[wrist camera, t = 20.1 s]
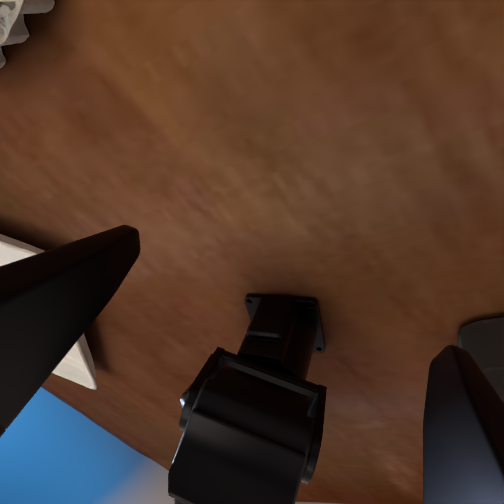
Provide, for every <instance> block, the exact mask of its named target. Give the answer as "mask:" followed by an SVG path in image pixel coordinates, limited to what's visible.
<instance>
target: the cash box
mask: <svg viewBox="0 0 504 504" xmlns="http://www.w3.org/2000/svg"><path fill="white" fill-rule="evenodd" d="M458 347H460V348H463V349H465V350H467V351H468V352H469V353H470V355H471V356H472V357H473V359H474V360H475V362H476V363H477V365H478V366H479V368H480V369H481V371H482V372H483V374H484V375H485V377H486V378H487V379H488V381H489V382H490V384H491V385H492V387H493V388H494V390H495V391H496V393H497V394H498V396H499V397H500V399H501V400H502V401H503V403H504V317H501V318H494V319H487V320H481V321H476V322H473V323H471V324H469V325H467V326H464V327H462V328H461V329H460V334H459V339H458Z"/></svg>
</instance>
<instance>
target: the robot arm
mask: <svg viewBox="0 0 504 504" xmlns="http://www.w3.org/2000/svg"><path fill="white" fill-rule="evenodd" d="M139 254H140V239H139V231H138V230H137V229H136V228H133V227H130V226H128V225H122V226H119V227H116V228H113V229H110V230H107V231H104V232H101V233H98V234H95V235H92V236H89V237H86V238H83V239H80V240H77V241H74V242H71V243H68V244H65V245H62V246H59V247H56V248H53V249H50V250H47V251H44V252H41V253H38V254H35V255H32V256H29V257H26V258H24V259H21V260H18V261H15V262H12V263H9V264H6V265H3V266H0V437H1V436H2V434H3V433H4V432H5V429H7V428H8V427H9V425H10V424H11V423H12V422H13V420H14V419H15V418H16V417H17V415H18V414H19V413H20V412H21V410H22V409H23V408H24V406H25V405H26V404H27V403H28V402H29V400H30V399H31V398H32V397H33V396H34V394H35V393H36V392H37V390H38V389H39V388H40V387H41V386H42V384H43V383H44V382H45V381H46V379H47V378H48V377H49V376H50V374H51V373H52V372H53V371H54V369H55V368H56V367H57V366H58V364H59V363H60V362H61V361H62V359H63V358H64V357H65V356H66V354H67V353H68V352H69V351H70V350H71V348H72V347H73V346H74V345H75V343H76V342H77V341H78V340H79V338H80V337H81V336H82V335H83V333H84V332H85V331H86V330H87V328H88V327H89V326H90V325H91V323H92V322H93V321H94V320H95V318H96V317H97V316H98V315H99V313H100V312H101V311H102V310H103V308H104V307H105V306H106V305H107V303H108V302H109V301H110V300H111V298H112V297H113V296H114V294H115V293H116V291H117V290H118V288H119V286H120V285H121V283H122V282H123V280H124V279H125V277H126V275H127V274H128V272H129V271H130V269H131V267H132V266H133V264H134V263H135V261H136V260H137V258H138V256H139ZM250 299H251V300H250ZM244 300H245V304H246V307H247V310H248V313H249V316H250V319H251V322H250V325H249V327H248V329H247V333H246V335H245V337H244V340H243V342H242V344H241V347H240V349H239V351H238V355H236V354H233V353H230V352H228V351H225V349H223V348H220V347H217V349H216V351H215V352H214V354H211V356H210V357H209V358H208V360H207V362H206V363H205V365H204V366H203V368H202V370H201V371H200V373H199V374H198V376H197V377H196V379H195V380H194V382H193V383H192V384H191V385H190V386H189V388H188V389H187V390H186V391H185V392H184V393H183V395H182V397H181V400H180V402H181V405H182V413H181V418H180V423H179V428H180V430H182V431H184V432H183V435H182V438H181V440H180V443H179V446H178V449H177V451H176V454H175V457H174V459H173V463H172V465H171V468H170V470H169V474H168V493H169V496H171V497H173V498H174V500H175V504H295V501H296V497H297V493H298V490H299V486H300V482H304V483H306V484H308V483H309V482H310V480H311V478H312V476H313V473H314V470H315V467H316V463H317V460H318V456H319V451H320V447H321V441H322V434H323V424H324V412H325V401H326V389H327V387H325V386H323V385H320V384H319V385H316V384H314V383H311V382H308V381H306V377H307V373H308V368H309V364H310V360H311V355H312V352H324V351H325V340H324V334H323V328H322V322H321V316H320V310H319V304H318V301H317V300H316V299H314V298H305V297H290V296H274V295H259V294H247V295H246V297H245V299H244ZM312 304H313V305H312ZM423 488H424V504H504V403H503V401H502V400H501V399H500V397H499V396H498V394H497V393H496V391H495V390H494V388H493V387H492V385H491V384H490V382H489V381H488V379H487V378H486V377H485V375H484V374H483V372H482V371H481V369H480V368H479V366H478V365H477V363H476V362H475V360H474V359H473V357H472V356H471V355H470V353H469V352H468V351H467V350H465V349H463V348H460V347H457V346H454V345H448V346H447V347H445V348H444V349H443V350H442V351H441V352H440V353H439V354H438V355H437V356H436V357H435V358H434V359H433V360H432V362H431V364H430V367H429V375H428V384H427V392H426V401H425V409H424V420H423Z"/></svg>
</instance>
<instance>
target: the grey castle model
mask: <svg viewBox="0 0 504 504" xmlns="http://www.w3.org/2000/svg"><path fill="white" fill-rule="evenodd" d="M54 4H55V2H54V0H0V68H2V67H3V66H4V65H5V63H6V58H5V57H4V55H3V53H2V49H1V46H4V45H11V44H15V43H22V42H24V41H26V39H27V38H28V37H29V33H28V29H27V28H26V26H25V23H24V15H23V14H34V13H47V12H49V11H50V10H52V9H53V7H54Z"/></svg>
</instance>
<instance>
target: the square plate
mask: <svg viewBox="0 0 504 504" xmlns="http://www.w3.org/2000/svg"><path fill="white" fill-rule="evenodd" d="M41 252H44V250H42V249H39V248H37V247H34V246H32V245H29V244H27V243H24V242H21V241H18V240H16V239H13V238H10V237H7V236H5V235H2V234H0V266H3V265H6V264H9V263H12V262H15V261H18V260H21V259H24V258H26V257H29V256H32V255H35V254H38V253H41ZM52 373H54V374H56V375H59V376H61V377H64V378H66V379H69V380H71V381H74V382H76V383H78V384H81V385H83V386H86V387H88V388H90V389H96V388H97V385H96V374H95V367H94V362H93V359H92V356H91V353H90V350H89V347H88V344H87V341H86V338H85V335H84V333H83V335H82V336H81V337H80V338H79V340H78V341H77V342H76V343H75V345H74V346H73V347H72V348H71V350H70V351H69V352H68V353H67V354H66V356H65V357H64V358H63V359H62V361H61V362H60V363H59V364H58V366H57V367H56V368H55V369H54V371H53V372H52Z"/></svg>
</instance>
